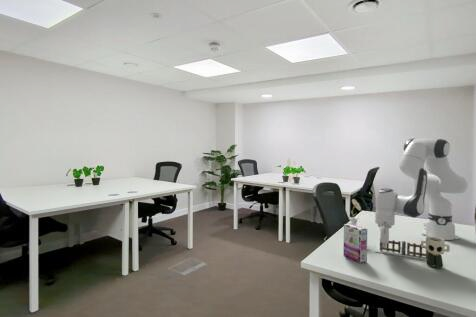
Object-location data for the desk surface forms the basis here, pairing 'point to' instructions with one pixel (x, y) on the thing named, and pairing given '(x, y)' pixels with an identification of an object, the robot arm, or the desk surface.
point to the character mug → (435, 251)
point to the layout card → (400, 252)
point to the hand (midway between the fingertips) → (384, 246)
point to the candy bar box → (355, 243)
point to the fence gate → (392, 246)
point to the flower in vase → (358, 207)
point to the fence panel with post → (413, 249)
